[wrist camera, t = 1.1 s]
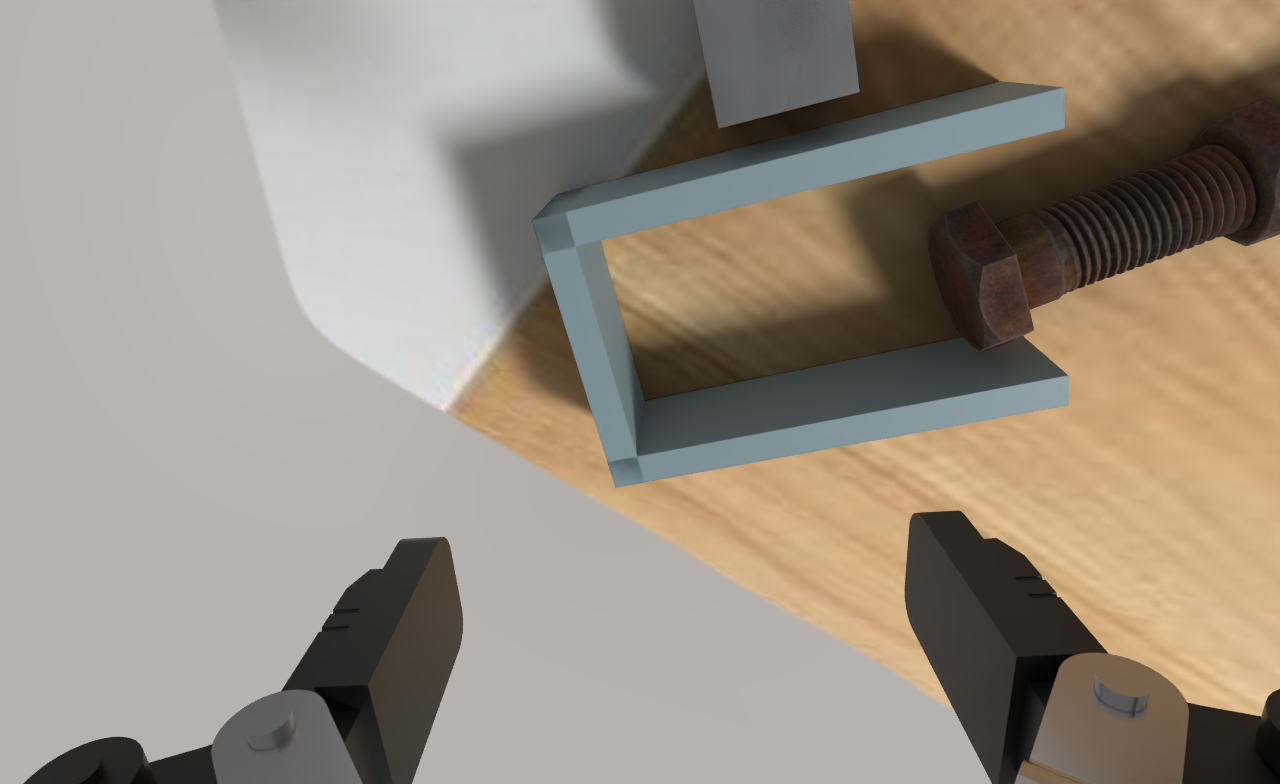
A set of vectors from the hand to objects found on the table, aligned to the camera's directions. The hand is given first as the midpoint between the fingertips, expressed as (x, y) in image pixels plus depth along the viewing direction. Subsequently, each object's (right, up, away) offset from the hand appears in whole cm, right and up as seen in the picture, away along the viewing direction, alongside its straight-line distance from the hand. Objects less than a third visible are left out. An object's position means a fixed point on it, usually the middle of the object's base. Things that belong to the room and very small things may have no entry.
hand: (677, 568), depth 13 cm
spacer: (+4, +16, +14) cm, 21 cm away
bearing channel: (+6, +8, +17) cm, 20 cm away
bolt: (+18, +11, +16) cm, 26 cm away
